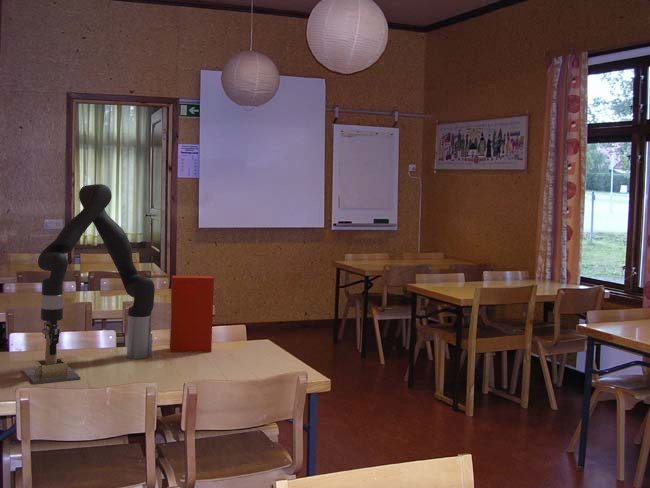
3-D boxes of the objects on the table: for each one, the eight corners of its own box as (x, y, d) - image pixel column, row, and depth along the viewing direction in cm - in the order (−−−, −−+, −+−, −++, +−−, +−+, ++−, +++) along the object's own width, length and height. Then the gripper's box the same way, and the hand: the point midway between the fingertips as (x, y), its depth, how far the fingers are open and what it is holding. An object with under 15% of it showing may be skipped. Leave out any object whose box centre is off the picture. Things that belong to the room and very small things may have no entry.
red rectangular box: (169, 348, 319) (171, 275, 316) (209, 347, 323) (212, 275, 320) (170, 352, 311) (172, 277, 308) (211, 352, 315) (213, 278, 313)
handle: (59, 371, 266) (59, 330, 265) (40, 371, 265) (40, 330, 264) (61, 368, 271) (61, 328, 269) (42, 368, 270) (43, 327, 268)
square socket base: (66, 366, 281) (66, 354, 280) (80, 379, 264) (80, 366, 264) (22, 370, 272) (22, 357, 271) (33, 384, 255) (33, 370, 255)
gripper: (67, 309, 262) (66, 356, 263) (58, 303, 274) (57, 348, 275) (45, 310, 258) (45, 358, 259) (36, 304, 270) (36, 350, 271)
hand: (51, 353), depth 267 cm, fingers closed on handle, 3 cm apart
